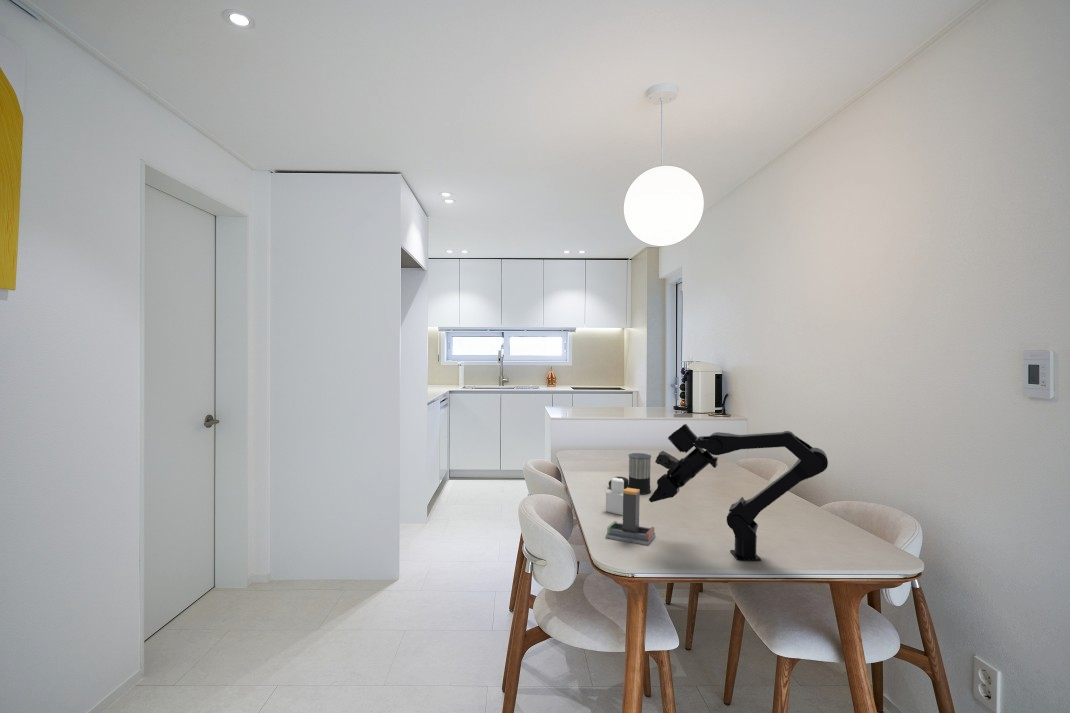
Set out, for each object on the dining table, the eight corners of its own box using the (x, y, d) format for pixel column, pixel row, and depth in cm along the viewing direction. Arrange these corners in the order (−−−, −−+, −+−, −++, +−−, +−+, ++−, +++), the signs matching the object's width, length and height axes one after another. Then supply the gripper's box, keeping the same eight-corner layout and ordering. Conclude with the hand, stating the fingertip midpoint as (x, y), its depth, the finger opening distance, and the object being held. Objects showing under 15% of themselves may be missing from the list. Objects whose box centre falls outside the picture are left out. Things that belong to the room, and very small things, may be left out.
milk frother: (654, 494, 217) (654, 457, 217) (615, 495, 215) (616, 458, 214) (642, 485, 231) (643, 450, 231) (606, 486, 229) (606, 450, 229)
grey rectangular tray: (655, 535, 169) (655, 526, 169) (647, 545, 161) (647, 535, 161) (615, 529, 175) (615, 519, 175) (605, 537, 167) (605, 528, 167)
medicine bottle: (615, 507, 199) (616, 474, 199) (633, 511, 195) (633, 477, 194) (605, 511, 194) (605, 477, 193) (623, 515, 189) (623, 481, 189)
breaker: (638, 531, 169) (639, 489, 169) (635, 535, 165) (636, 492, 165) (626, 529, 171) (627, 487, 170) (622, 533, 167) (623, 490, 167)
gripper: (679, 438, 170) (643, 470, 175) (665, 448, 154) (626, 482, 159) (704, 466, 167) (667, 497, 172) (693, 479, 150) (652, 513, 155)
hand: (653, 497), depth 165 cm, fingers open, 9 cm apart
